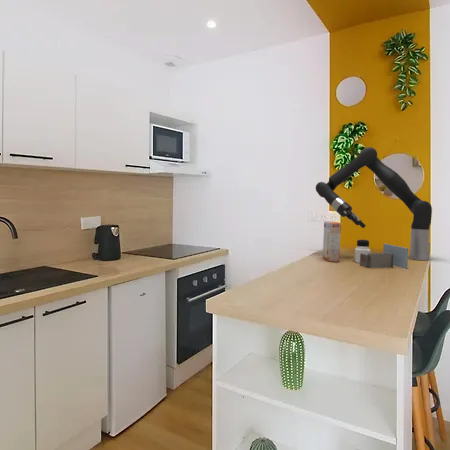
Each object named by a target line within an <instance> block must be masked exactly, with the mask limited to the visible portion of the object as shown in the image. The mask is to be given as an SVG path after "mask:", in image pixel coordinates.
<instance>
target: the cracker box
mask: <svg viewBox="0 0 450 450" xmlns="http://www.w3.org/2000/svg"><path fill="white" fill-rule="evenodd" d="M341 232H342V222H336V221H324V222H323V239H322V240H323V241H322V242H323V243H322V259H324V260H326V261H327V262H330V263H340V253H341V251H340V250H341V234H342V233H341Z"/></svg>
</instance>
